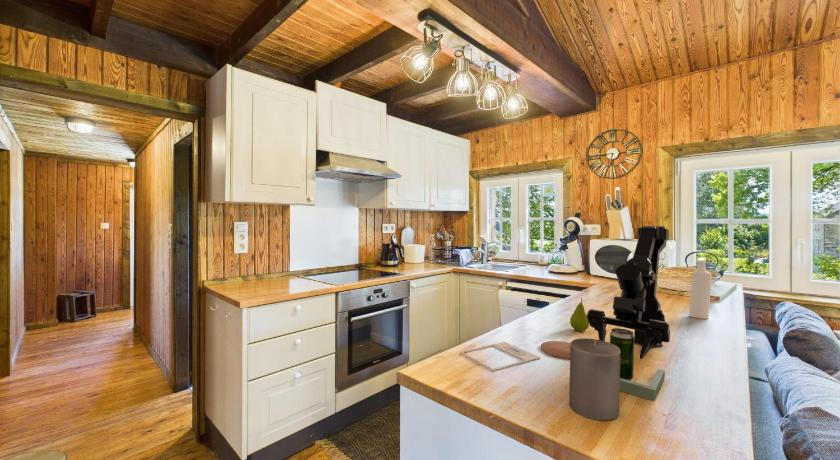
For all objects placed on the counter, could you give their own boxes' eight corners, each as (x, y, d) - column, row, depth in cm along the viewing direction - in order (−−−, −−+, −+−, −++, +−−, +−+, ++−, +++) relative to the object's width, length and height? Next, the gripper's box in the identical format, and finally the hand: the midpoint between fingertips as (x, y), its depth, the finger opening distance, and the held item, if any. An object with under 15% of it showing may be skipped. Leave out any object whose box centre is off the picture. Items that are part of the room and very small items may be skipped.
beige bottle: (712, 315, 150) (715, 257, 149) (706, 321, 142) (708, 259, 141) (693, 312, 155) (695, 256, 154) (686, 317, 147) (688, 257, 146)
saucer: (567, 341, 116) (567, 339, 116) (596, 357, 104) (596, 354, 104) (532, 345, 113) (532, 342, 113) (558, 361, 100) (558, 358, 100)
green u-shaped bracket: (591, 361, 101) (592, 352, 101) (664, 380, 89) (664, 370, 89) (575, 377, 90) (575, 367, 90) (654, 401, 79) (655, 390, 79)
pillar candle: (576, 392, 82) (577, 329, 82) (623, 407, 76) (625, 339, 75) (562, 410, 75) (563, 341, 74) (613, 428, 69) (615, 352, 68)
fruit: (570, 331, 127) (570, 298, 126) (569, 326, 133) (570, 295, 132) (589, 334, 124) (590, 300, 124) (588, 329, 130) (589, 297, 130)
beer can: (625, 372, 93) (626, 328, 93) (637, 382, 88) (639, 334, 87) (604, 372, 93) (606, 327, 93) (615, 381, 88) (617, 334, 88)
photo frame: (540, 356, 102) (493, 369, 93) (540, 360, 102) (493, 373, 93) (504, 341, 115) (460, 351, 106) (504, 344, 115) (460, 354, 106)
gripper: (589, 280, 99) (575, 328, 91) (670, 290, 86) (661, 346, 79) (597, 303, 105) (584, 349, 97) (673, 315, 93) (665, 369, 85)
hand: (620, 353), depth 89 cm, fingers open, 9 cm apart
